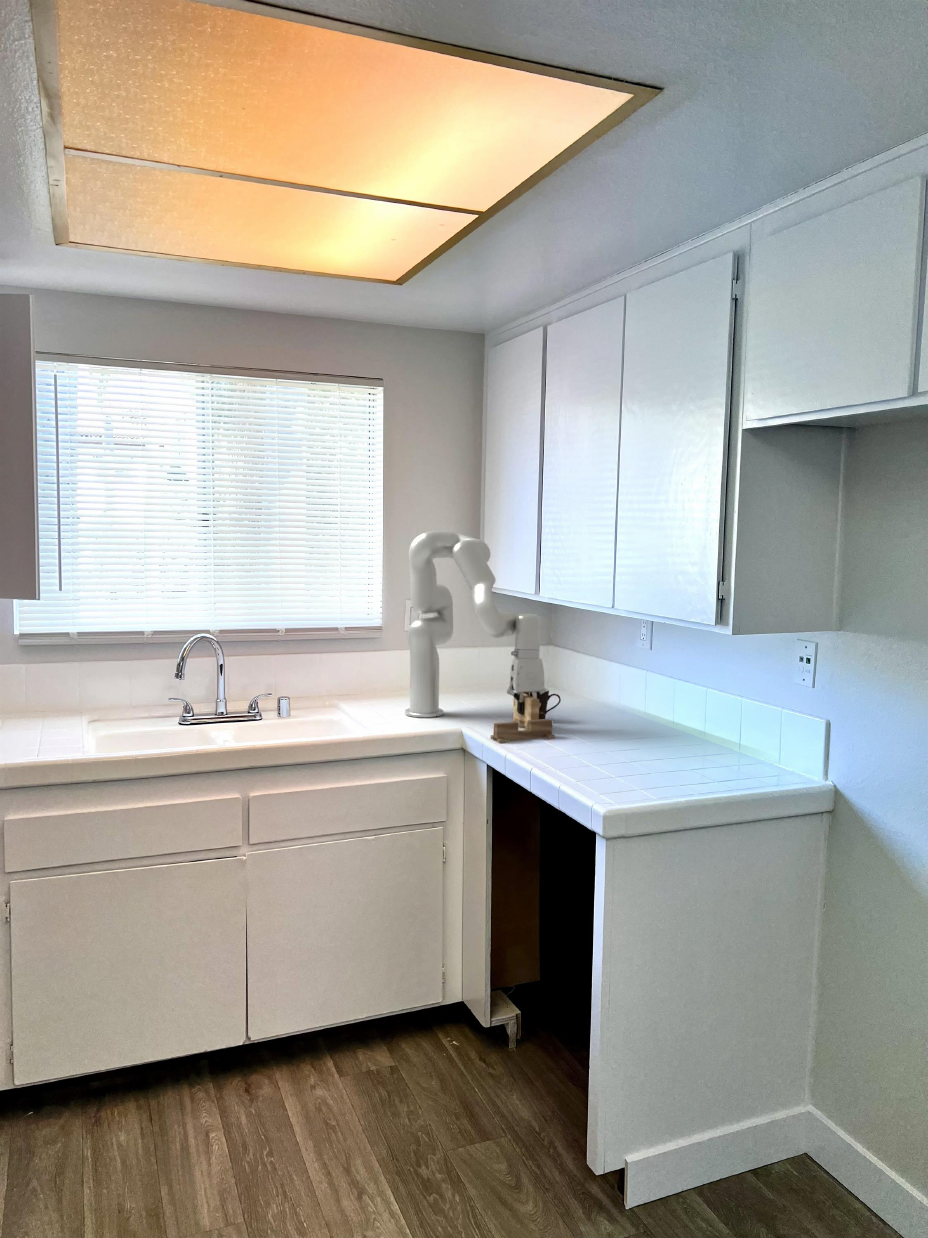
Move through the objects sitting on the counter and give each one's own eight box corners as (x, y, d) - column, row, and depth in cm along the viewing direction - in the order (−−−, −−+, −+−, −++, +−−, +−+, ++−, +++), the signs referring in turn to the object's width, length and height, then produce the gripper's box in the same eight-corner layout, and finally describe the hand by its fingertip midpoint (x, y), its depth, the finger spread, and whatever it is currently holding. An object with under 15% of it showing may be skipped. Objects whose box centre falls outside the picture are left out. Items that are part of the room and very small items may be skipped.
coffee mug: (517, 721, 289) (517, 690, 288) (528, 716, 296) (528, 686, 295) (551, 725, 283) (551, 694, 282) (561, 720, 291) (562, 689, 290)
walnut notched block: (490, 738, 265) (490, 721, 264) (545, 734, 272) (545, 717, 271) (499, 743, 259) (499, 726, 259) (554, 738, 266) (555, 721, 266)
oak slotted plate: (513, 724, 284) (513, 693, 283) (520, 724, 285) (521, 692, 284) (530, 732, 273) (531, 699, 272) (538, 732, 274) (539, 699, 273)
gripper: (508, 657, 270) (507, 718, 272) (556, 654, 277) (554, 714, 278) (497, 653, 277) (496, 713, 279) (544, 651, 283) (543, 709, 285)
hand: (525, 713), depth 279 cm, fingers closed on oak slotted plate, 2 cm apart
